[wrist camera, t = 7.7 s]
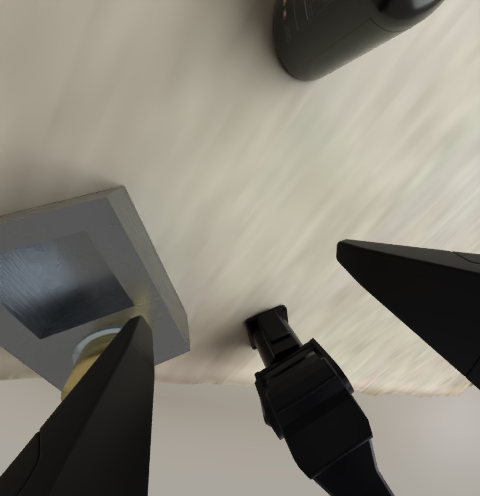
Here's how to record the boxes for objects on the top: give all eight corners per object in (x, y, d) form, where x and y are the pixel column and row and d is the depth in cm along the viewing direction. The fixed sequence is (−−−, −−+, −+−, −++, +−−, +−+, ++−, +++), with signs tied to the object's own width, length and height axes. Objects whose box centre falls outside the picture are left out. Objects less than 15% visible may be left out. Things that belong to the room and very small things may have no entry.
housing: (187, 315, 24) (190, 352, 19) (92, 351, 22) (72, 402, 17) (124, 185, 16) (105, 197, 11) (-32, 223, 14) (-129, 255, 9)
